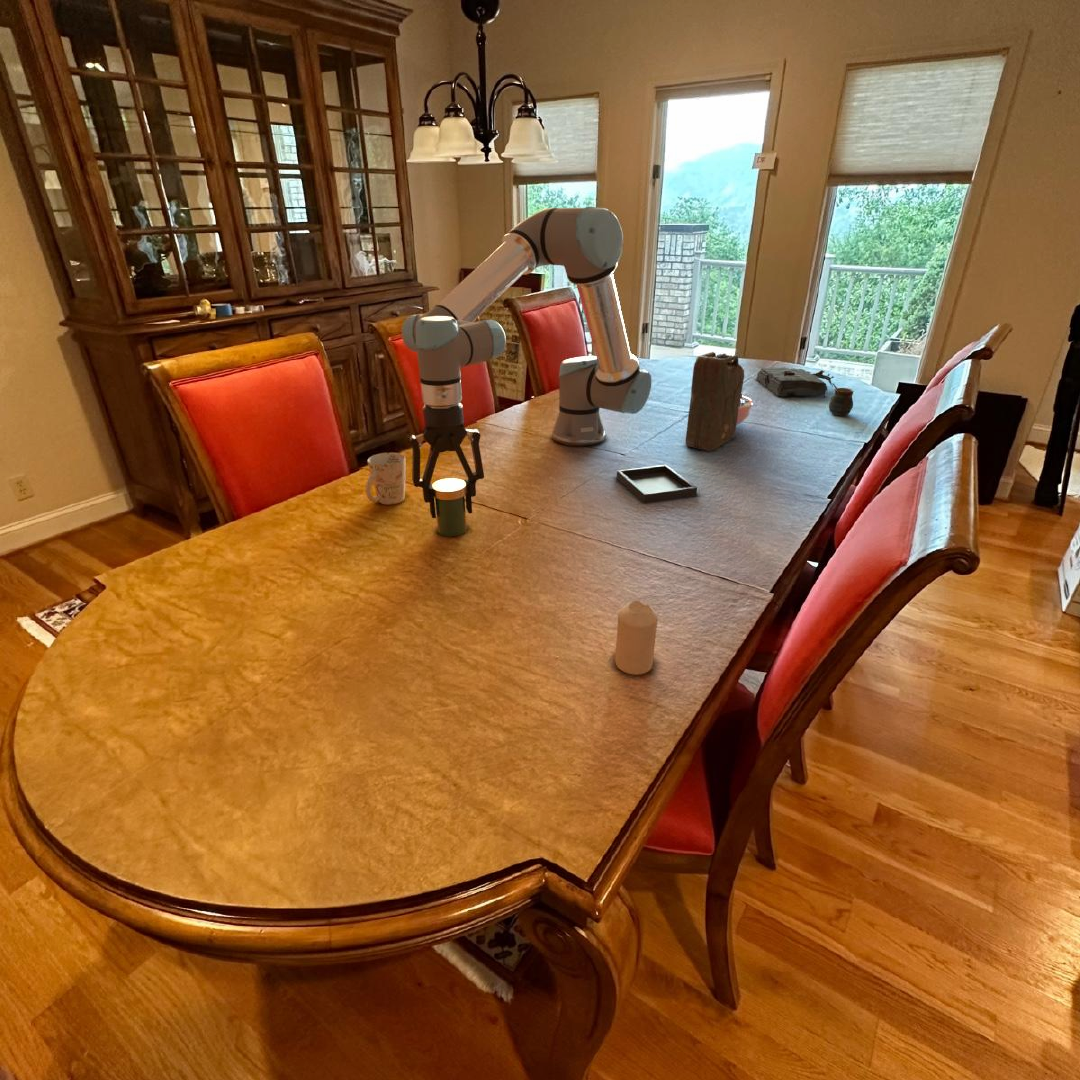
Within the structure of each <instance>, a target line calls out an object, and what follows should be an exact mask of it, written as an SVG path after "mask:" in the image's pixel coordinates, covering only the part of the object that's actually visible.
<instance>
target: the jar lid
mask: <svg viewBox="0 0 1080 1080" xmlns="http://www.w3.org/2000/svg"><path fill="white" fill-rule="evenodd" d="M431 484H432V487H433V491H434V499H435V498H437V499H440V500H455V499H459V498H462V497H464V496H465V495H466V493H467V487H466V483H465V481H464V480H463V479H460V478H453V477H452V478H443V479H439V480H436V481H435V482H433V483H431Z"/></svg>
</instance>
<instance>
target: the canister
mask: <svg viewBox="0 0 1080 1080" xmlns="http://www.w3.org/2000/svg"><path fill="white" fill-rule="evenodd" d="M744 380H745V370H744V369H743V366H742V365H740V364H739V356H738V355H737V354H735V355H730V354H729V355H728V354H727V353H720V354H717V355H716V352H714V351H711V352H708V353H705V354H702V355H698V356H697V357H696V359H695V362H694V364H693V370H692V380H691V389H690V401H689V406H688V407H689V410H688V417H687V425H686V426H687V427H686V434H685V445H686V447H689V448H692V449H698V450H702V451H706V452H707V451H708V452H712V451H714V450H716V449H718V448H719V447H721V445H723V444H725V443H727V442H729V441H730V440H732V439H733V438H734V437H735V436H736V432H737V431H736V430H737V426H738V425H737V418H738V407H739V403H740V398H741V394H743V393H742V392H743V386H744Z"/></svg>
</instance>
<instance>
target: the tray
mask: <svg viewBox="0 0 1080 1080" xmlns="http://www.w3.org/2000/svg"><path fill="white" fill-rule="evenodd" d="M616 479H617V480H618V481H619V482H620V483H621V484H622V485H623V486H624V487H625V488H626V489H628V491H630V492H631V493H632V494H633V495H634V496H636V497H637V498H638V499H639V500H640V501H641V502H642V503H643V504H645V503H653V502H661V501H667V500H674V499H683V498H690V497H696V496H697V495H698V486H696V485H695V484H693V483H692V482H691V481H689V480H688V479H686V478H685V477H684V476H682V474H679V473H678V472H677V471H676V470H675V469H673V468H672V467H670V466H669V465H668V464H661V465H660V464H659V465H652V466H642V467H635V468H626V469H618V470H616Z"/></svg>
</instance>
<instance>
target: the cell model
mask: <svg viewBox="0 0 1080 1080" xmlns="http://www.w3.org/2000/svg"><path fill="white" fill-rule="evenodd" d="M753 406H754V403H753V401H752V399H751V398H749V397H748V396H744V395H743V393H741V398H740V403H739V407H738V418H737V425H736V426H738V425H740V424H742V423H743V422H744V421H746V420H747V418H748V417H749V415H750V411H751V408H752V407H753Z"/></svg>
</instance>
